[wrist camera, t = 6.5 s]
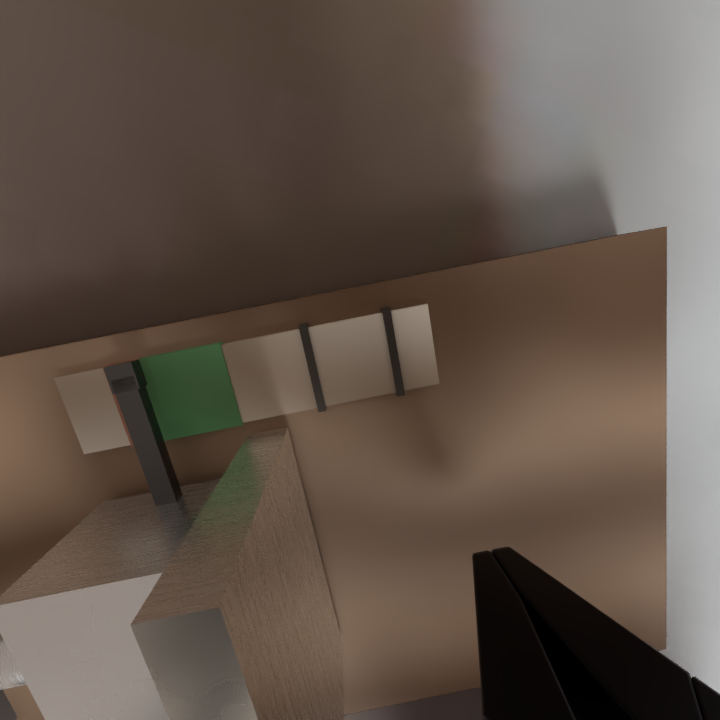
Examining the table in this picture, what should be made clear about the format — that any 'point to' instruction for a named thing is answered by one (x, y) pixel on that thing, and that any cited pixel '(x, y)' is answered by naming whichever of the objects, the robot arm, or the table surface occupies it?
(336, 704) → the gauge carriage
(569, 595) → the robot arm
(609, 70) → the table surface
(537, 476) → the gauge base
